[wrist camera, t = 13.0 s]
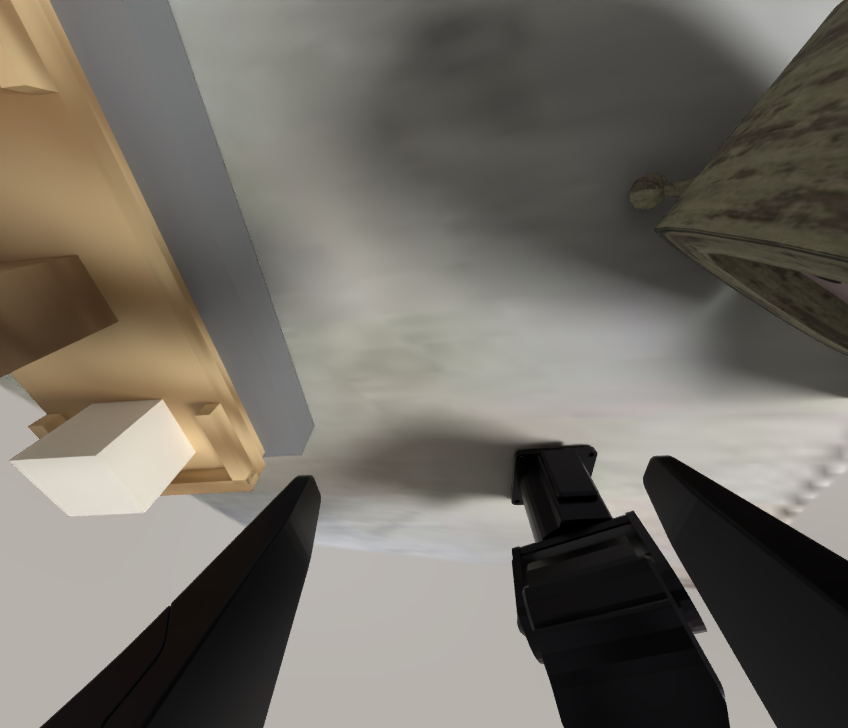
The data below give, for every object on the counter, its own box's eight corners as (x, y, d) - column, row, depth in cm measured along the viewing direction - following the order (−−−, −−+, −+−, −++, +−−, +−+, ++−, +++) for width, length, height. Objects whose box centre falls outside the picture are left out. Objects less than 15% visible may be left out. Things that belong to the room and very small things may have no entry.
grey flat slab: (314, 425, 25) (301, 454, 22) (144, 436, 25) (112, 465, 23) (129, -113, 12) (43, -195, 9) (-215, -61, 12) (-387, -125, 10)
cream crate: (195, 452, 19) (145, 513, 16) (132, 455, 19) (68, 516, 16) (162, 399, 17) (95, 455, 14) (92, 403, 17) (8, 460, 14)
